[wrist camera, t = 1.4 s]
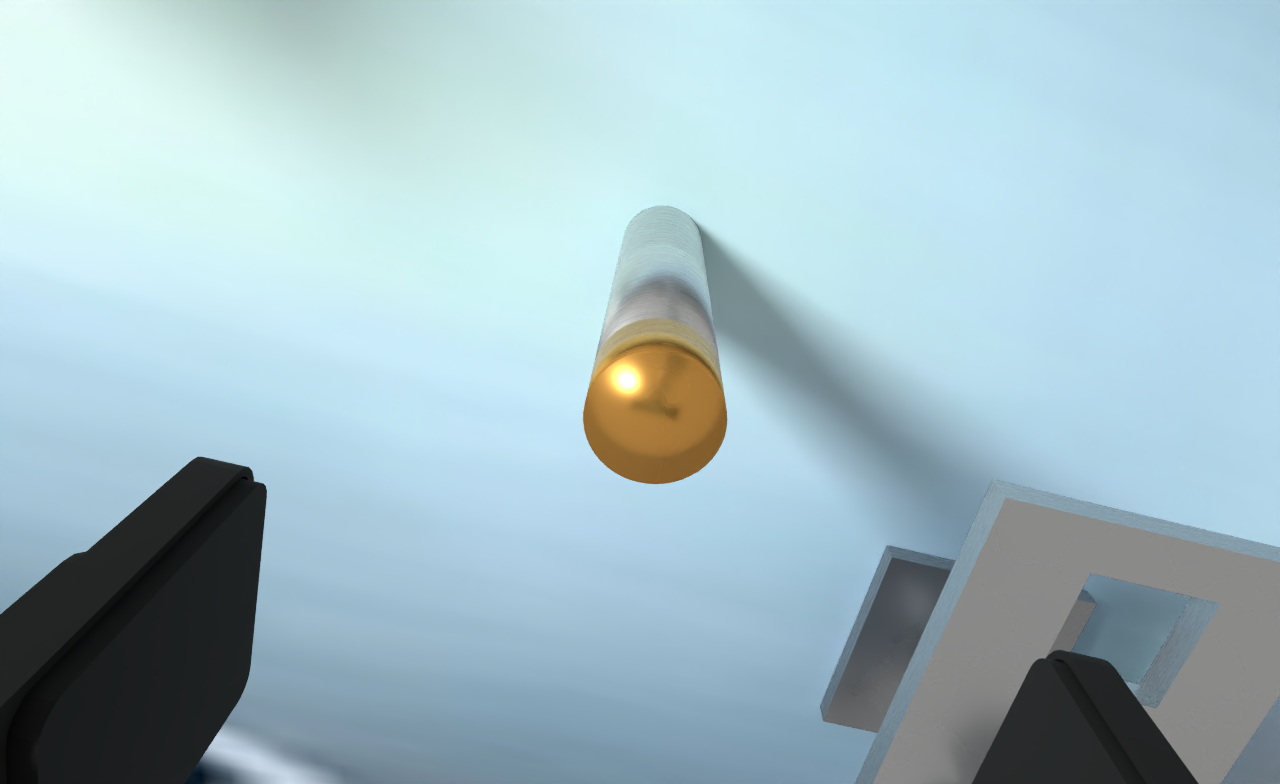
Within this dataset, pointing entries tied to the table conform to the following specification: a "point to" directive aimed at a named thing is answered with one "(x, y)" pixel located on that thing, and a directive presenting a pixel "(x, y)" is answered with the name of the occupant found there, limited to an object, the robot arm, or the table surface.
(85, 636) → the robot arm
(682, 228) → the pin
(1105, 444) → the table surface
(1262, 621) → the plate with square hole
